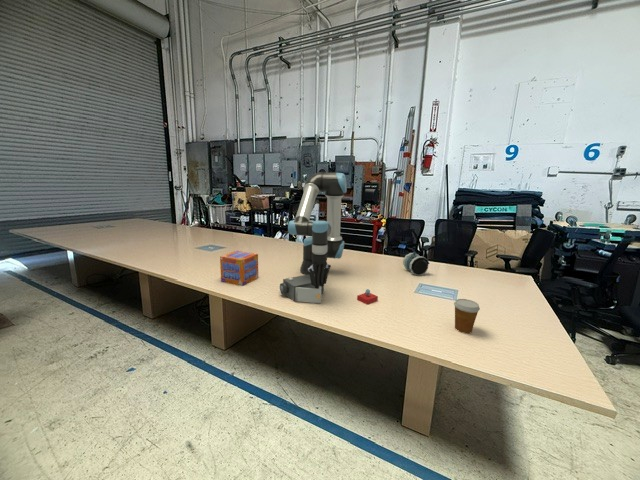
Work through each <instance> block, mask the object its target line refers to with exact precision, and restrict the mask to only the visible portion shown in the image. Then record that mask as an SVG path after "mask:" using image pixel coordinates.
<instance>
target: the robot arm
mask: <svg viewBox="0 0 640 480" xmlns="http://www.w3.org/2000/svg"><path fill="white" fill-rule="evenodd" d="M347 186H348V185H347V178H346V174H345V173H342V172H322V171H321V172H316V173H314V174H312V175H311V176H309V177H308V178H307V180H306V181H305V183H304V185H303V187H302V188H303V189H302V191H303V194H302V197H301V200H300V201H299V206H298V209H297V212H296V215H295V218H294V220H290V221H288V224H287V225H288V226H287V231H288V234H289V235H291V236H292V235H293V236H302V237H303V236H304V237H306V236H307V237H306V238H304V239H303V245H302V253H303V254H302V262H301V265H300V269H299V271H300V273H301V274H303V275H308V274H309V275H310V280H311V284H312V285H313V286H315V288H316V289H321V292H322V291H323V290H322V289H323V286H324V287H325V285H326V284H327V281H328V278H329V277H328V276H329V272H330V269H331V268H332V266H331V264H328V261H327V260H328V259H334V260H335V259H342V257H343V253H344V249H345V241H344V240H343V237H342V235H341V219H342V218H341V217H342V198H343V197H345V196H344V195H345V194H346V193H347V191H348V190H347ZM319 193H324V196H325V197H326V198H327V200H326V205H327V206H326V211H327V212H326V220H314V221H310V219H311V215H312V212H313V208H314V205H315V201H316V197H317V196H318V195H319ZM314 275H315V277H314Z"/></svg>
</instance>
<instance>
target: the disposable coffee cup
mask: <svg viewBox="0 0 640 480" xmlns="http://www.w3.org/2000/svg"><path fill="white" fill-rule="evenodd" d="M453 306H454V329H455V328H456V329H457V330H459V331H461V332H460V333H462V332H465V333H464V334H471V333H472V331H473V328H474V325H475V322H476V319H477V316H478V313H479V311H480V310H481V307H480V305H479V303H478V302H476V301H473V300H472V299H468V298H457V299H456V300H455V301H454V303H453ZM456 329H455V330H456ZM457 330H456V331H457ZM459 331H458V332H459ZM470 332H471V333H470Z"/></svg>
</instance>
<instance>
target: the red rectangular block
mask: <svg viewBox="0 0 640 480" xmlns="http://www.w3.org/2000/svg"><path fill="white" fill-rule="evenodd" d="M356 300H357V301H358V302H361V303H363V304H365V305H370V304H373V303H376V302H378V300H379V296H378V295H375V294H373V293H371V290H370V289H367V288H366V289H365V292H364V293H361V294H357V296H356Z"/></svg>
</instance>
